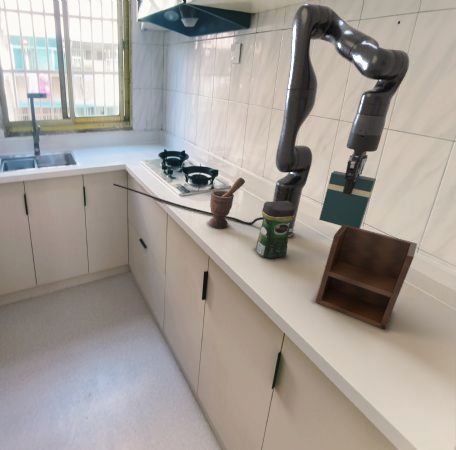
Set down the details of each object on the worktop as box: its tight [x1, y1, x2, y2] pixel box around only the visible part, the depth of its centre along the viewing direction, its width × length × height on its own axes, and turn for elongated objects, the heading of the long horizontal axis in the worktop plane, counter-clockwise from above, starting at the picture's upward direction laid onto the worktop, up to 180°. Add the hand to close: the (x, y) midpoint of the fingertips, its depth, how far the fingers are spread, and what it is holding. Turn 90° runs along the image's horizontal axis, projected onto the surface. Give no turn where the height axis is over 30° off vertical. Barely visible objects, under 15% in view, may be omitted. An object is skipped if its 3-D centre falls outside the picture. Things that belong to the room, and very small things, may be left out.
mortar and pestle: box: [208, 177, 246, 229], centre depth 131 cm, size 12×9×20 cm
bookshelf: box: [315, 224, 418, 331], centre depth 85 cm, size 16×9×20 cm, turn 50°
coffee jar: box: [255, 201, 295, 259], centre depth 111 cm, size 10×8×19 cm
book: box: [318, 170, 377, 229], centre depth 100 cm, size 11×4×15 cm, turn 50°
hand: (348, 191), depth 99 cm, fingers closed on book, 3 cm apart
